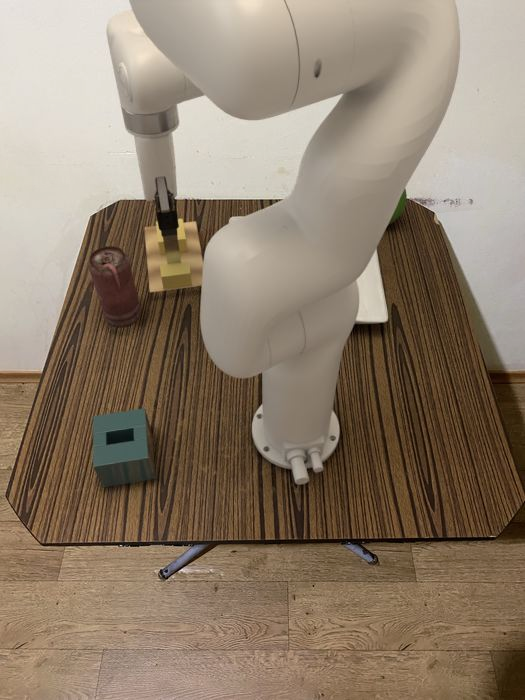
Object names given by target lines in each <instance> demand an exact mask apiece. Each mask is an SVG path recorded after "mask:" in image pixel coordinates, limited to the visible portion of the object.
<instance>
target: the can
mask: <svg viewBox="0 0 525 700" xmlns="http://www.w3.org/2000/svg"><path fill="white" fill-rule="evenodd" d="M87 267H88V270H89V274H90V276H91V279H92V283H93V286H94V289H95V292H96V295H97V298H98V301H99V304H100V308H101V310H102V314H103V317H104V320H105V322H106V323H107V324H108V325H109V326H111V327H112V328H118V329H122V328H128V327H132V326H133V325H134V324H136V323H137V322H138V321H140V318H141V316H142V307H141V303H140V299H139V295H138V291H137V286H136V283H135V279H134V275H133V270H132V267H131V263H130V259H129V256H128V254H127V253H126V252H125V251H124V250H123V249H122V248H121V247H118V246H114V245H106V246H102V247H99V248H97V249H95V250H94V251H93V252H91V254H90V256H89V257H88V264H87Z"/></svg>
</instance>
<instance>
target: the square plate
mask: <svg viewBox="0 0 525 700" xmlns="http://www.w3.org/2000/svg"><path fill="white" fill-rule="evenodd" d="M244 216H245V215H244ZM244 216H241V215H240V216H232V217H230V218H229V220H228V224H229V223H231V222H233V221H235V220H237V219H240V218H242V217H244ZM356 281H357V285H358V289H359V310H358V314H357V318H356V321H355V324H354V325H375V324H381V323H382V324H383V323H387V322H388V320H389V312H388V307H387V300H386V295H385V291H384V285H383V284H384V283H383V280H382V274H381V267H380V262H379V256H378V247H377V248H376V250H375V252H374V254H373V256H372V258H371V260H370V262H369V264H368V265H367V267H366V269H365V270H364V272H363V273H362V274H361V275H360V276H359V278H358V279H356Z"/></svg>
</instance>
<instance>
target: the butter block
mask: <svg viewBox="0 0 525 700" xmlns="http://www.w3.org/2000/svg"><path fill="white" fill-rule="evenodd" d="M178 223H179V228H177V233H178V235H177V237H178V244H179V250H180V252H187V244H186V237H185V230H184V224H183V223H184V219H183V218H178ZM155 226H156V228H157V237H158V245H159V250H160V255H163V254H166V253H165V247H164V241H163V237H162V235H161V230H159V227H158V221H157V220H156V221H155Z"/></svg>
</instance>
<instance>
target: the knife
mask: <svg viewBox="0 0 525 700" xmlns="http://www.w3.org/2000/svg"><path fill="white" fill-rule="evenodd" d="M168 200H170V197H168ZM159 201H160V199H159ZM161 235H162V237H163V241H164V247H165V253H166V259H167V264H174V263H181V257H180V250H179V244H178V237H177V235H178V233H177V229H169V230H161Z"/></svg>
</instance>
